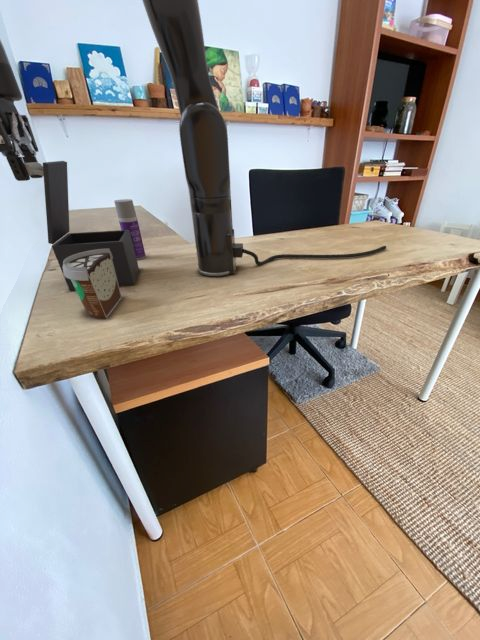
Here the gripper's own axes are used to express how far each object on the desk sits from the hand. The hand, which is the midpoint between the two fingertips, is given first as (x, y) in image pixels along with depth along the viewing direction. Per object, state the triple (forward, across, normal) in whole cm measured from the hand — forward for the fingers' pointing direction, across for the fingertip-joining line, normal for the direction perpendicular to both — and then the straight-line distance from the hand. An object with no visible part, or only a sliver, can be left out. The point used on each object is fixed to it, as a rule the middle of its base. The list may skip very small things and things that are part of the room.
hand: (30, 178), depth 58 cm
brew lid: (+4, 0, -4) cm, 6 cm away
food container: (+22, -17, -9) cm, 29 cm away
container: (+22, +16, -13) cm, 30 cm away
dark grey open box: (+21, 0, -8) cm, 23 cm away
